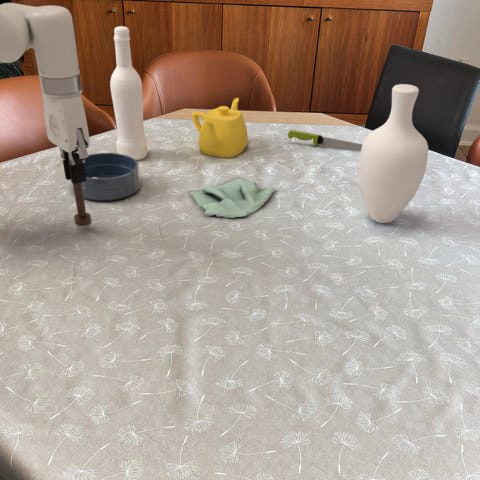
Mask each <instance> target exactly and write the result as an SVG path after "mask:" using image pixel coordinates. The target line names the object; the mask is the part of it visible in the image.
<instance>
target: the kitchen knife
mask: <svg viewBox="0 0 480 480" xmlns="http://www.w3.org/2000/svg"><path fill="white" fill-rule="evenodd" d="M287 137H288V138H289V139H290V140H291V139H292V138H296V139H298V140H300V141H311V140H312V147H314V148H315V147H322V148H330V149H338V150H339V149H340V150H349V151H361V148H362V145H363V143H358V142H352V141H347V140H342V139H337V138H332V137H327V136H322V135H321V134H315V133H311V132H305V131H301V130H296V129H295V130H293V129H290V130H289V131H288V133H287Z"/></svg>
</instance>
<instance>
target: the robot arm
mask: <svg viewBox="0 0 480 480" xmlns="http://www.w3.org/2000/svg"><path fill="white" fill-rule="evenodd" d="M29 49H33V50H34V54H35V60H36V66H37V71H38V78H39V83H40V88H41V95H42V108H43V109H42V110H43V116H44V123H45V130H46V136H47V139H48V141H50V143H52V144H53V145H55V146H56V147H58V148H59V152H60V158H61V160H62V167H63V171H64V178H65V180H67V181H70V182H71V184H72V183H73V184H77V183H81V182H85V181H86V172H85V166H84V162H85V159H84V158H87V157H88V155H89V153H88V150H87V149H89V148H90V144H91V143H90V133H89V127H88V121H87V116H86V111H85V106H84V102H83V98H82V95H81V94H82V93H83V86H82V77H81V73H80V72H81V71H80V64H79V57H78V51H77V49H78V48H77V43H76V35H75V28H74V21H73V16H72V13H71V12H70V10H69V9H68V8H67V7H63V6H61V5H41V6H33V5H26V4H22V3H15V2H4V3H1V4H0V63H4V64H10V63H14V62H16V61H18V60H20V59H21V57H22V56H23V55H24V53H25V52H26V51H28V50H29ZM74 152H77V153H75V154H74ZM68 153H69V158H68ZM69 159H70V164H69Z"/></svg>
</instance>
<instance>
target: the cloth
mask: <svg viewBox="0 0 480 480" xmlns="http://www.w3.org/2000/svg"><path fill="white" fill-rule="evenodd" d="M202 187H203V188H202V190H197V191H190V194H191V196H192V198H193V199H194V200H195V202H196V204H198V206H199V207H200V209H201V210H203V211H205V212H204V214H205V216H206V217H215V218H224V219H225V218H226V219H235V218H247V216H249V215H251V214H253V213H255V212H257V211H258V210H259V209H261V208H262V206H264V205H265V204H266V202H268V201H269V199H270V198H271V197H272V195H273V193H274V192H275V191H276V190H275V188H274V187H270V188H269V187H267V188H265V189H264V190H262V189H260V188H259V186H258V185H257V182H255V181H253V182H248V181H246V180H244V179H242V178H236V179H234V180H231V181H228V182H226V183H223V184H221V185H219V186H217V185H205V186H202Z"/></svg>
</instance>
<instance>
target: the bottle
mask: <svg viewBox="0 0 480 480" xmlns="http://www.w3.org/2000/svg"><path fill="white" fill-rule="evenodd" d="M113 33H114V35H113V41H114V49H115V50H114V51H115V61H116V62H115V63H116V66H115V69H114V70H113V72H112V74H111V76H110V81H109V87H110V95H111V100H112V105H113V111H114V112H113V113H114V118H115V119H114V120H115V123H116V125H115V126H116V131H117V138H116V143H115V144H116V151H117V154H124V155H127V156H130V157H132V158H134V159H136V161H140V160H143V159H145V158H147V155H148V150H149V149H148V141H147V139H146V136H145V130H144V100H143V99H144V98H143V96H144V95H143V93H144V92H143V81H142V79H141V77H140V74H139V73H138V72H137V70H136V69H135V68H134V67H133V62H132V52H131V51H132V50H131V45H130V40H131V38H130V37H131V36H130V29H129V27H127V26H125V25H124V26H123V25H119V26H116V27H114V30H113Z"/></svg>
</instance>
